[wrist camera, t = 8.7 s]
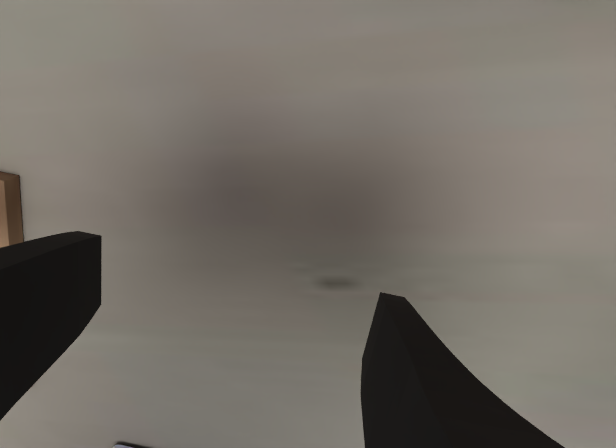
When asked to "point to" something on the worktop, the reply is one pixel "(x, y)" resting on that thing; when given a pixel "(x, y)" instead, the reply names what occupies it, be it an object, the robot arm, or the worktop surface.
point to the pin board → (10, 210)
